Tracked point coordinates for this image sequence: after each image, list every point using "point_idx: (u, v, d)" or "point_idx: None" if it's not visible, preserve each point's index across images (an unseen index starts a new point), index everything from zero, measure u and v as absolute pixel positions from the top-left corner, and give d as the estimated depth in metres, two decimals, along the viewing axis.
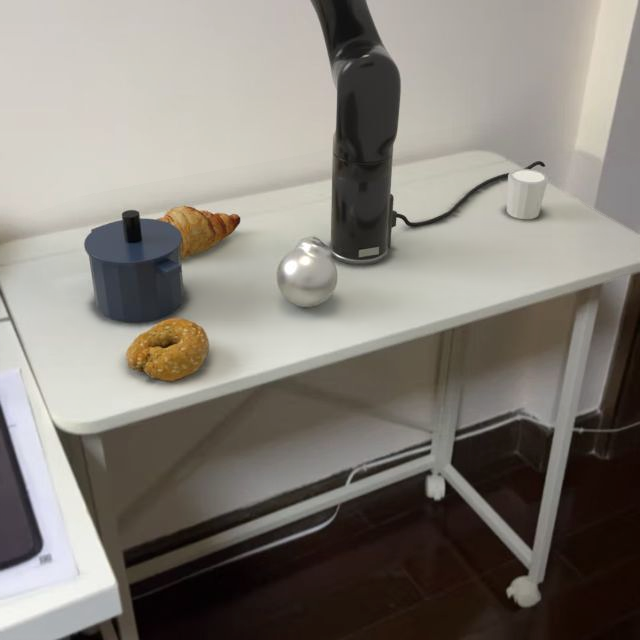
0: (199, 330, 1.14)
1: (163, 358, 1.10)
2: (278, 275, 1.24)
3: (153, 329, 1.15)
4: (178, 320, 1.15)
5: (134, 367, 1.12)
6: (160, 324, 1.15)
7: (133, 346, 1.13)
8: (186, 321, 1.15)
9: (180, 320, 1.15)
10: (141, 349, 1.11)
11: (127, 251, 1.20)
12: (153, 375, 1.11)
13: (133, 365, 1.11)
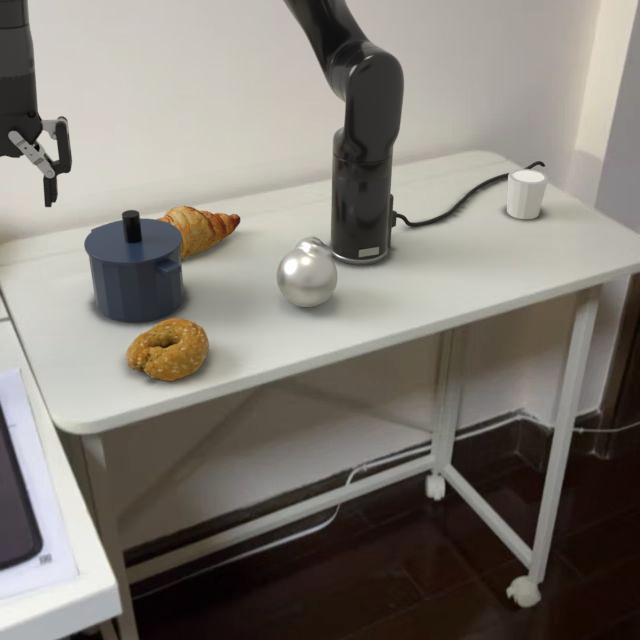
0: (199, 330, 1.14)
1: (163, 358, 1.10)
2: (278, 275, 1.24)
3: (153, 329, 1.15)
4: (178, 320, 1.15)
5: (134, 367, 1.12)
6: (160, 324, 1.15)
7: (133, 346, 1.13)
8: (186, 321, 1.15)
9: (180, 320, 1.15)
10: (141, 349, 1.11)
11: (127, 251, 1.20)
12: (153, 375, 1.11)
13: (133, 365, 1.11)
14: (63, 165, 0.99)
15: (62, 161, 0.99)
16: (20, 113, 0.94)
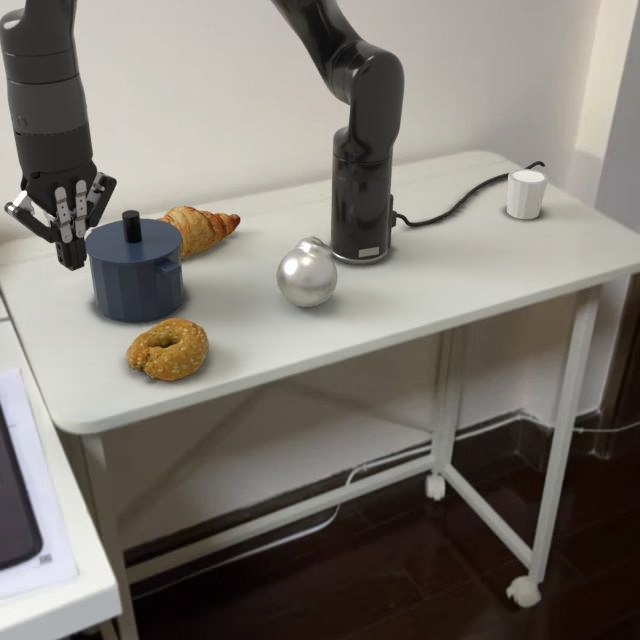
0: (199, 330, 1.14)
1: (163, 358, 1.10)
2: (278, 275, 1.24)
3: (153, 329, 1.15)
4: (178, 320, 1.15)
5: (134, 367, 1.12)
6: (160, 324, 1.15)
7: (133, 346, 1.13)
8: (186, 321, 1.15)
9: (180, 320, 1.15)
10: (141, 349, 1.11)
11: (127, 251, 1.20)
12: (153, 375, 1.11)
13: (133, 365, 1.11)
14: (92, 220, 0.96)
15: (95, 214, 0.96)
16: (90, 159, 0.90)
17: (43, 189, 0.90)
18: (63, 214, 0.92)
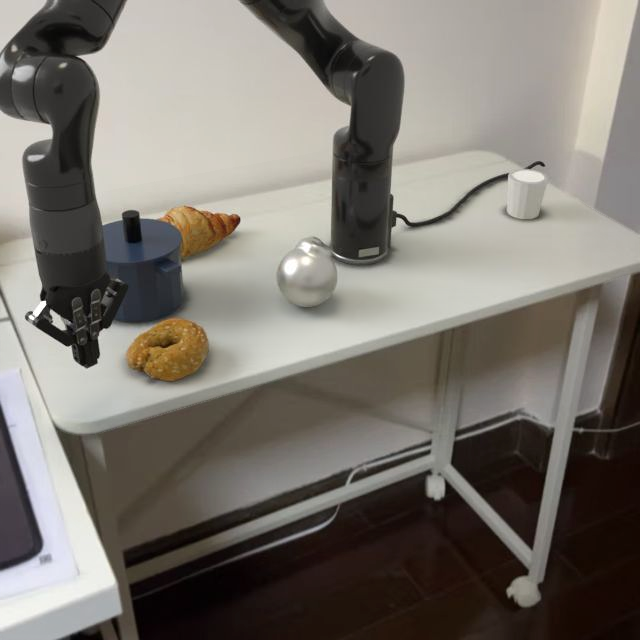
0: (199, 330, 1.14)
1: (163, 358, 1.10)
2: (278, 275, 1.24)
3: (153, 329, 1.15)
4: (178, 320, 1.15)
5: (134, 367, 1.12)
6: (160, 324, 1.15)
7: (133, 346, 1.13)
8: (186, 321, 1.15)
9: (180, 320, 1.15)
10: (141, 349, 1.11)
11: (127, 251, 1.20)
12: (153, 375, 1.11)
13: (133, 365, 1.11)
14: (105, 322, 1.03)
15: (108, 317, 1.03)
16: (105, 272, 0.98)
17: (61, 300, 0.97)
18: (79, 320, 0.99)
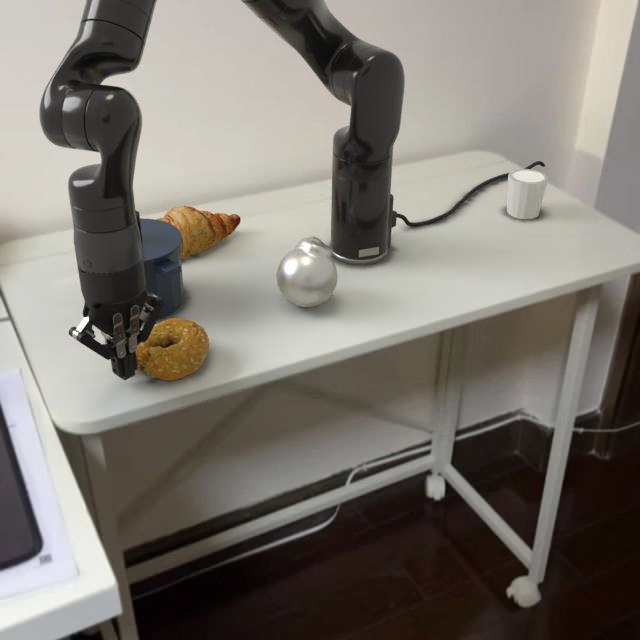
0: (200, 330, 1.14)
1: (164, 358, 1.10)
2: (278, 275, 1.24)
3: (153, 329, 1.15)
4: (178, 319, 1.15)
5: None
6: (160, 324, 1.15)
7: None
8: (186, 321, 1.15)
9: (180, 320, 1.15)
10: (141, 349, 1.11)
11: None
12: (153, 375, 1.11)
13: None
14: (142, 336, 1.08)
15: (145, 331, 1.08)
16: (144, 289, 1.03)
17: (102, 316, 1.02)
18: (119, 335, 1.04)
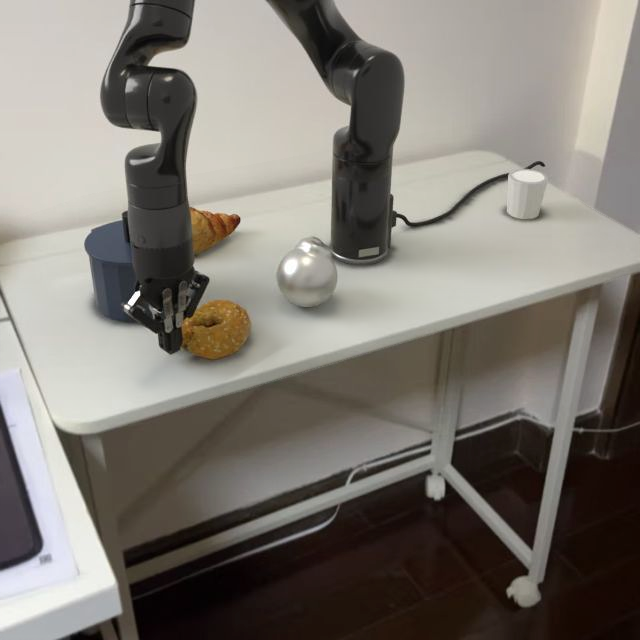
0: (243, 312, 1.17)
1: (206, 337, 1.14)
2: (278, 275, 1.24)
3: (199, 309, 1.19)
4: (223, 301, 1.19)
5: None
6: (205, 305, 1.19)
7: None
8: (230, 303, 1.19)
9: (225, 302, 1.19)
10: (185, 327, 1.16)
11: (127, 251, 1.20)
12: (196, 353, 1.15)
13: None
14: (188, 312, 1.12)
15: (191, 307, 1.12)
16: (192, 265, 1.07)
17: (153, 291, 1.06)
18: (168, 310, 1.09)
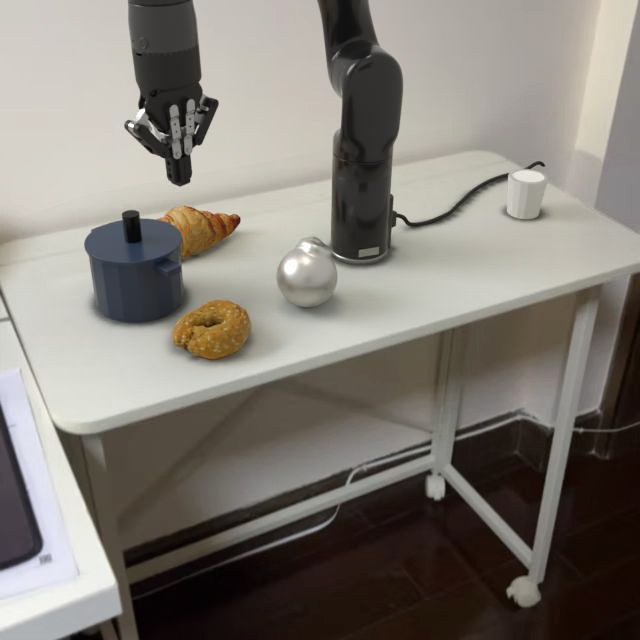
0: (243, 312, 1.17)
1: (206, 337, 1.14)
2: (278, 275, 1.24)
3: (199, 309, 1.19)
4: (223, 301, 1.19)
5: (178, 344, 1.16)
6: (206, 305, 1.19)
7: (178, 324, 1.17)
8: (230, 303, 1.19)
9: (225, 302, 1.19)
10: (185, 327, 1.16)
11: (127, 251, 1.20)
12: (196, 353, 1.15)
13: (177, 342, 1.16)
14: (197, 138, 1.05)
15: (200, 133, 1.05)
16: (200, 79, 0.99)
17: (159, 107, 0.99)
18: (175, 131, 1.01)
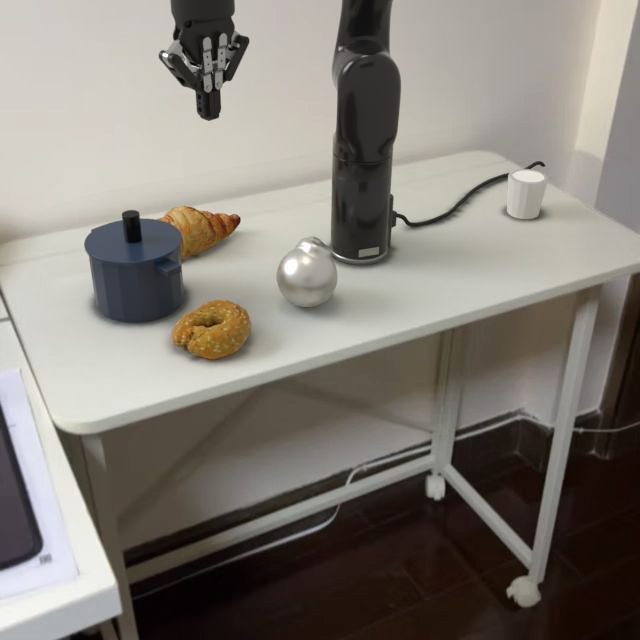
0: (242, 312, 1.17)
1: (206, 337, 1.14)
2: (278, 275, 1.24)
3: (199, 309, 1.19)
4: (223, 301, 1.19)
5: (178, 344, 1.16)
6: (205, 305, 1.19)
7: (178, 325, 1.17)
8: (230, 303, 1.19)
9: (225, 302, 1.19)
10: (185, 327, 1.16)
11: (127, 251, 1.20)
12: (196, 353, 1.15)
13: (177, 342, 1.16)
14: (228, 74, 1.08)
15: (231, 69, 1.08)
16: (233, 13, 1.03)
17: (193, 38, 1.02)
18: (207, 63, 1.04)
